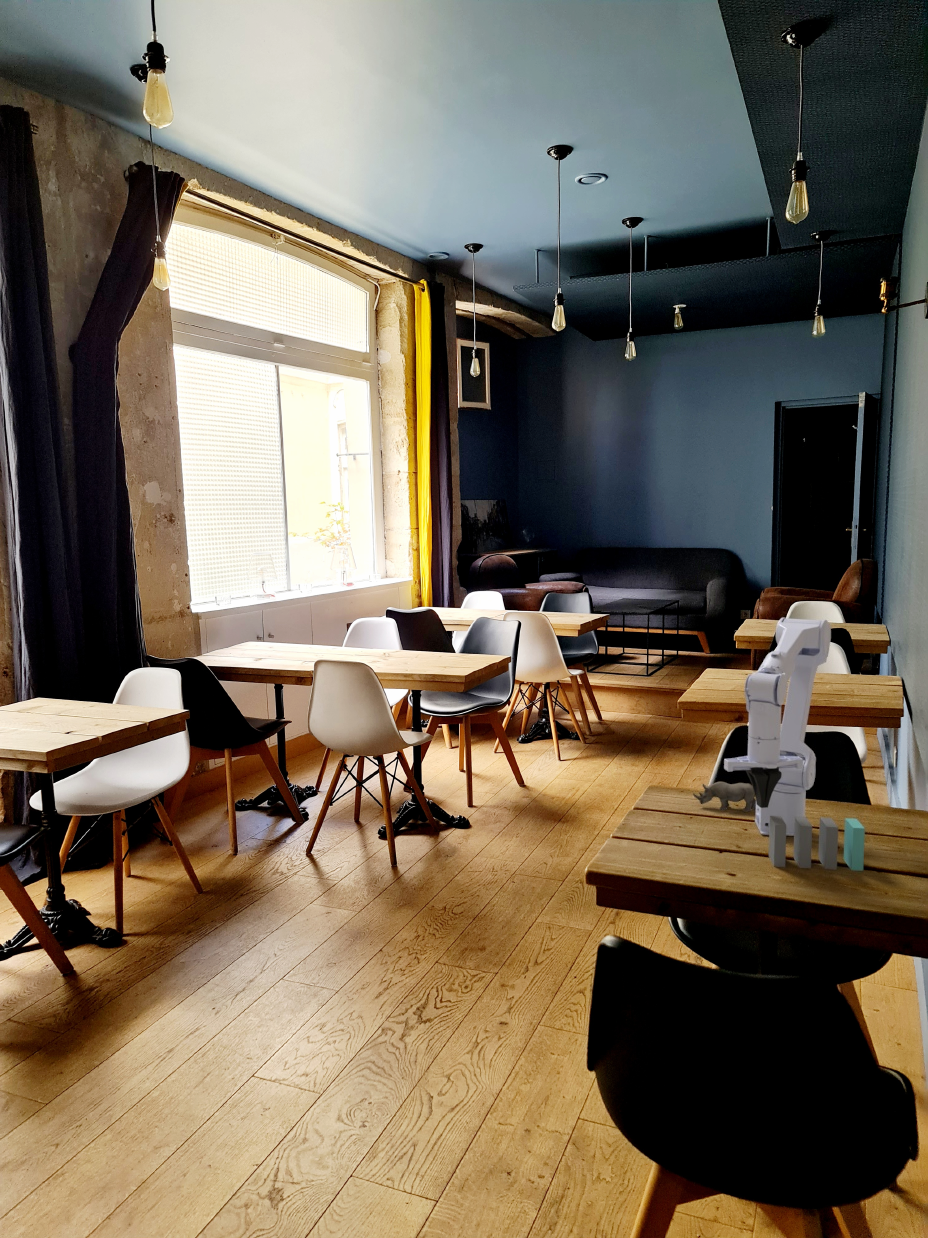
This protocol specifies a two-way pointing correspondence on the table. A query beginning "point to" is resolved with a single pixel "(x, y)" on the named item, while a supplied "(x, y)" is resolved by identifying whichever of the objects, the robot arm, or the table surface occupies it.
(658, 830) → the table surface
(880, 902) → the table surface
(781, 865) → the gray domino
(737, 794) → the rhino figurine
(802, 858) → the gray domino
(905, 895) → the table surface
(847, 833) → the teal domino
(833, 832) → the grey domino block
